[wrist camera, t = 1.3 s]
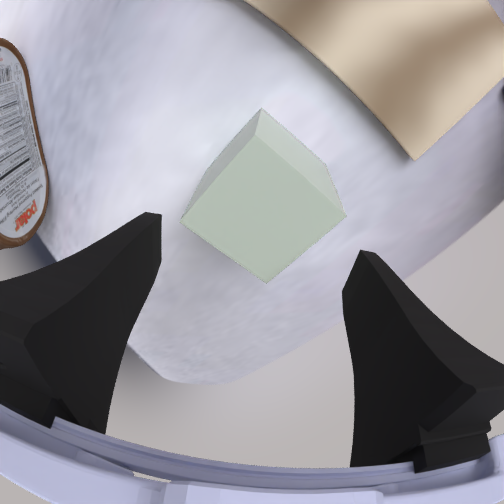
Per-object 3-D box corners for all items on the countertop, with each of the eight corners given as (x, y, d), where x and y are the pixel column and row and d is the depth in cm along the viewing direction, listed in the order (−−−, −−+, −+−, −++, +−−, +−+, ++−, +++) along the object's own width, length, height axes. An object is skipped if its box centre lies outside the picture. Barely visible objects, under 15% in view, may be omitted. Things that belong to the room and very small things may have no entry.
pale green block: (325, 164, 19) (346, 216, 13) (269, 218, 21) (266, 283, 16) (261, 107, 17) (254, 134, 11) (207, 169, 19) (179, 222, 14)
